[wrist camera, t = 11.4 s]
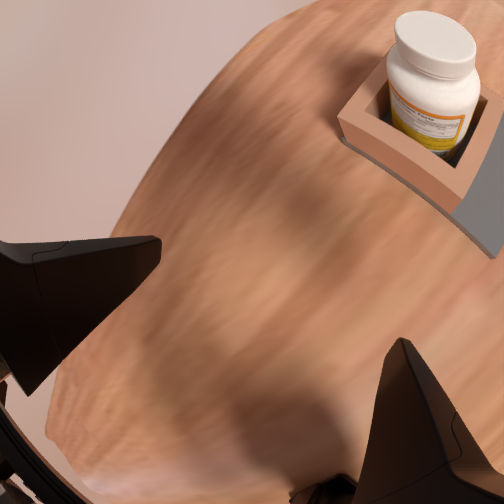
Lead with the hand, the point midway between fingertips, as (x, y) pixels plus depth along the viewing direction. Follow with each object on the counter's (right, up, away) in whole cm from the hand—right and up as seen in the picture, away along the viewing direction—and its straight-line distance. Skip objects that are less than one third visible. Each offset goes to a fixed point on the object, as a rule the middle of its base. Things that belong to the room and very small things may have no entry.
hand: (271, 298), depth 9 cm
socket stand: (+15, +10, +6) cm, 19 cm away
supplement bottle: (+12, +10, +6) cm, 17 cm away
